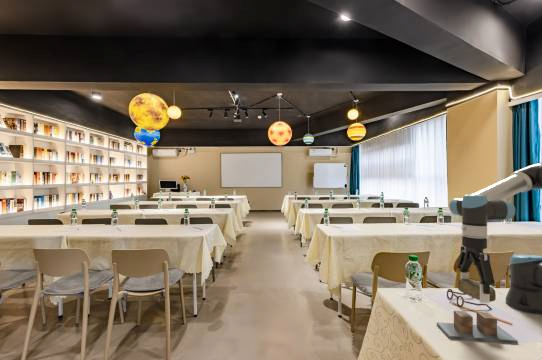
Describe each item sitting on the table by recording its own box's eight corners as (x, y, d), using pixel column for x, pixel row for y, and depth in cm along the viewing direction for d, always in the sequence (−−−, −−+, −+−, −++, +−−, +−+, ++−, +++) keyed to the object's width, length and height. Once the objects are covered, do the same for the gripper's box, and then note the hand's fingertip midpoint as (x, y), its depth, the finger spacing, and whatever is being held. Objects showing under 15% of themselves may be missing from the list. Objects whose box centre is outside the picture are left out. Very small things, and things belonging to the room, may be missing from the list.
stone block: (483, 303, 98) (482, 288, 99) (456, 291, 110) (456, 278, 110) (497, 302, 99) (497, 287, 99) (469, 290, 111) (469, 277, 111)
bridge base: (498, 328, 108) (498, 310, 108) (517, 343, 98) (517, 323, 98) (436, 324, 111) (436, 306, 111) (449, 338, 101) (449, 318, 101)
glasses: (446, 297, 139) (445, 287, 139) (474, 298, 138) (474, 288, 138) (461, 309, 126) (461, 298, 126) (493, 310, 125) (493, 299, 125)
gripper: (447, 230, 117) (447, 283, 117) (483, 242, 93) (483, 308, 93) (467, 231, 116) (466, 284, 116) (508, 243, 92) (508, 310, 92)
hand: (474, 295), depth 105 cm, fingers closed on stone block, 12 cm apart
